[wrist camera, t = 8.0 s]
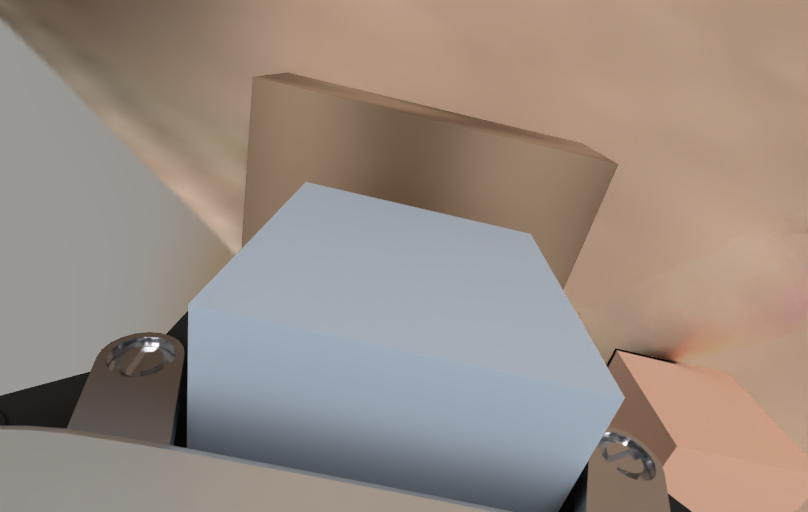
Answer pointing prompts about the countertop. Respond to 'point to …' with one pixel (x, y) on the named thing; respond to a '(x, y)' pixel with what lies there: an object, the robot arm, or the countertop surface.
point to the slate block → (397, 355)
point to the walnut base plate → (420, 163)
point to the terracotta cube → (708, 437)
